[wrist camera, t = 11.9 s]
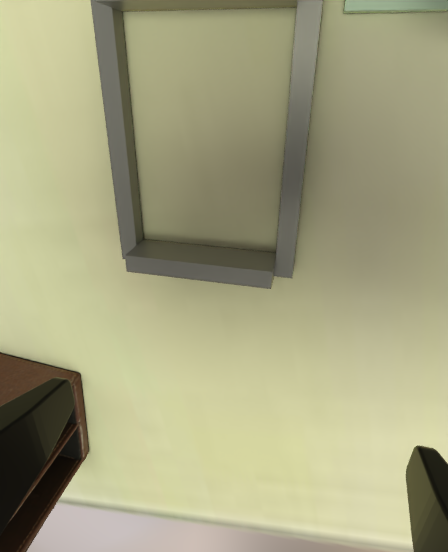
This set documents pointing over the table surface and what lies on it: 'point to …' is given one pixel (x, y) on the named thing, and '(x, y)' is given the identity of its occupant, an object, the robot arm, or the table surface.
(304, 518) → the table surface
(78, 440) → the letter holder
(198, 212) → the table surface
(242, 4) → the rectangular frame
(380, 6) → the pad
